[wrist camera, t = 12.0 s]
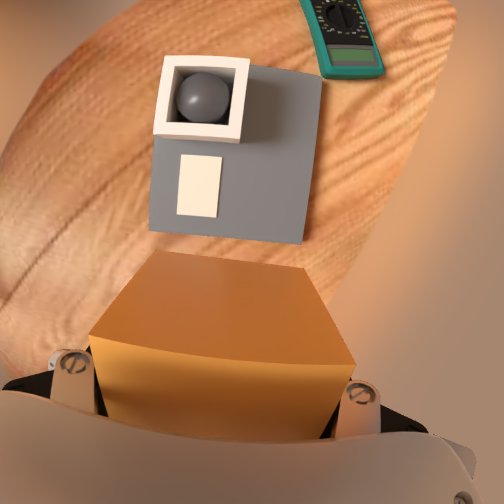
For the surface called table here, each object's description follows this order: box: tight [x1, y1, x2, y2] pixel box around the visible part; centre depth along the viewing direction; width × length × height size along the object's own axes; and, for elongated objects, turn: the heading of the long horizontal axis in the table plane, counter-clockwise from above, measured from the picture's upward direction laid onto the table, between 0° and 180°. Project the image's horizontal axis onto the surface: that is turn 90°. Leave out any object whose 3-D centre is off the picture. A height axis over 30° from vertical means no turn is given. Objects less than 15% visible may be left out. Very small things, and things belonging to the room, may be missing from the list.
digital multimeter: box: [299, 0, 385, 79], centre depth 22 cm, size 7×15×3 cm, turn 11°
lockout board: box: [149, 56, 322, 245], centre depth 24 cm, size 18×16×7 cm
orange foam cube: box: [88, 250, 356, 440], centre depth 9 cm, size 6×6×6 cm
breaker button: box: [176, 73, 230, 125], centre depth 22 cm, size 4×4×4 cm
